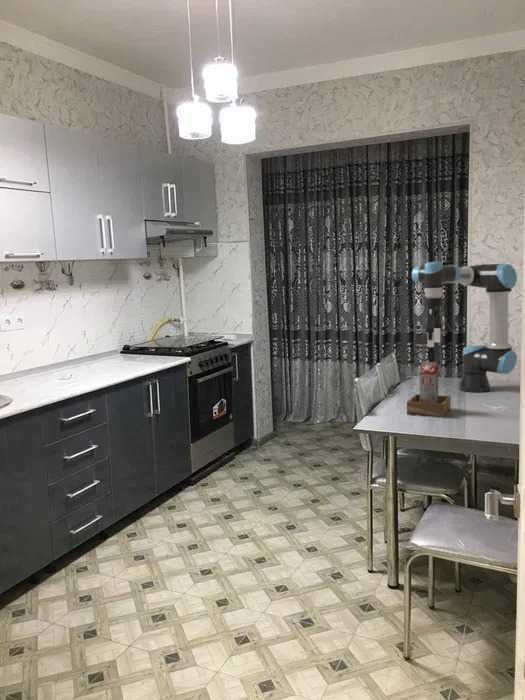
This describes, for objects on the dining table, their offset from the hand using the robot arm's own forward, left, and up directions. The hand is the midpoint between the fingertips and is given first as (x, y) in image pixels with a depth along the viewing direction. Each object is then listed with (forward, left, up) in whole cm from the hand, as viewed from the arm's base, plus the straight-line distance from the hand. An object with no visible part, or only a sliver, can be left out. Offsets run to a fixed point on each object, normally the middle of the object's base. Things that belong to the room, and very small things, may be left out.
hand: (434, 344), depth 264 cm
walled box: (+3, -2, -30) cm, 31 cm away
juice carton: (+3, -2, -30) cm, 30 cm away
